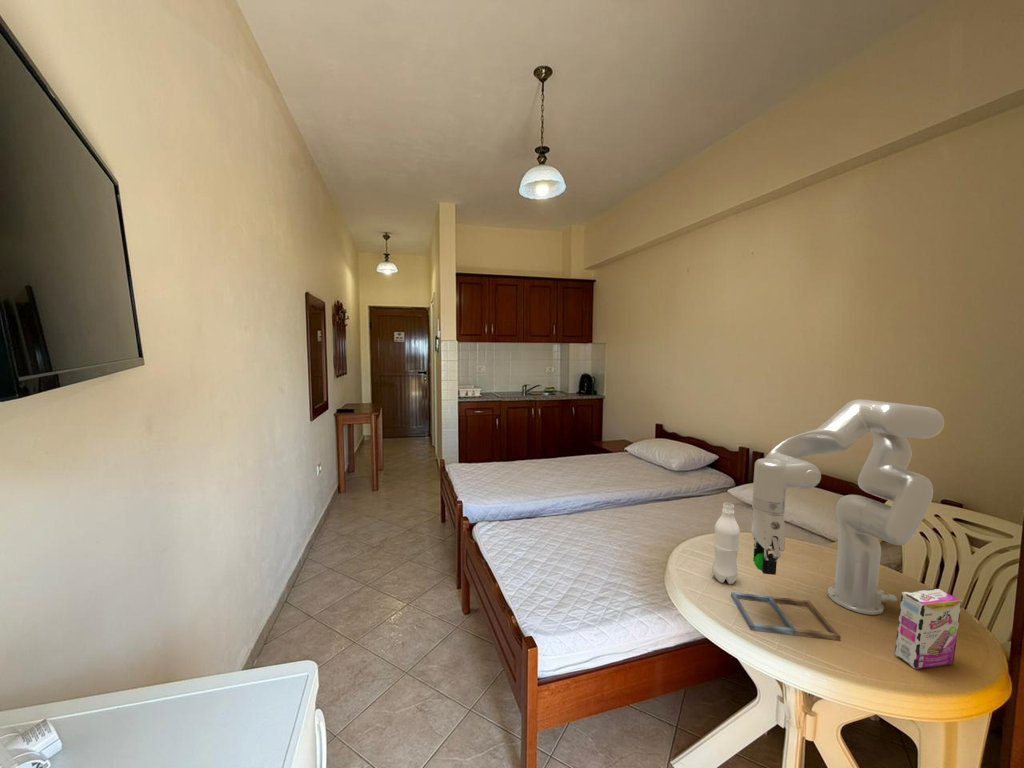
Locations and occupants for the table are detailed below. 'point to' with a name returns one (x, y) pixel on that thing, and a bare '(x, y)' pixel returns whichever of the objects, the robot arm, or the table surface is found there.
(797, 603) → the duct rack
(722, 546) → the water bottle
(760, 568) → the polyhedron
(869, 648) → the table surface
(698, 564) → the table surface
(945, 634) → the candy bar box
